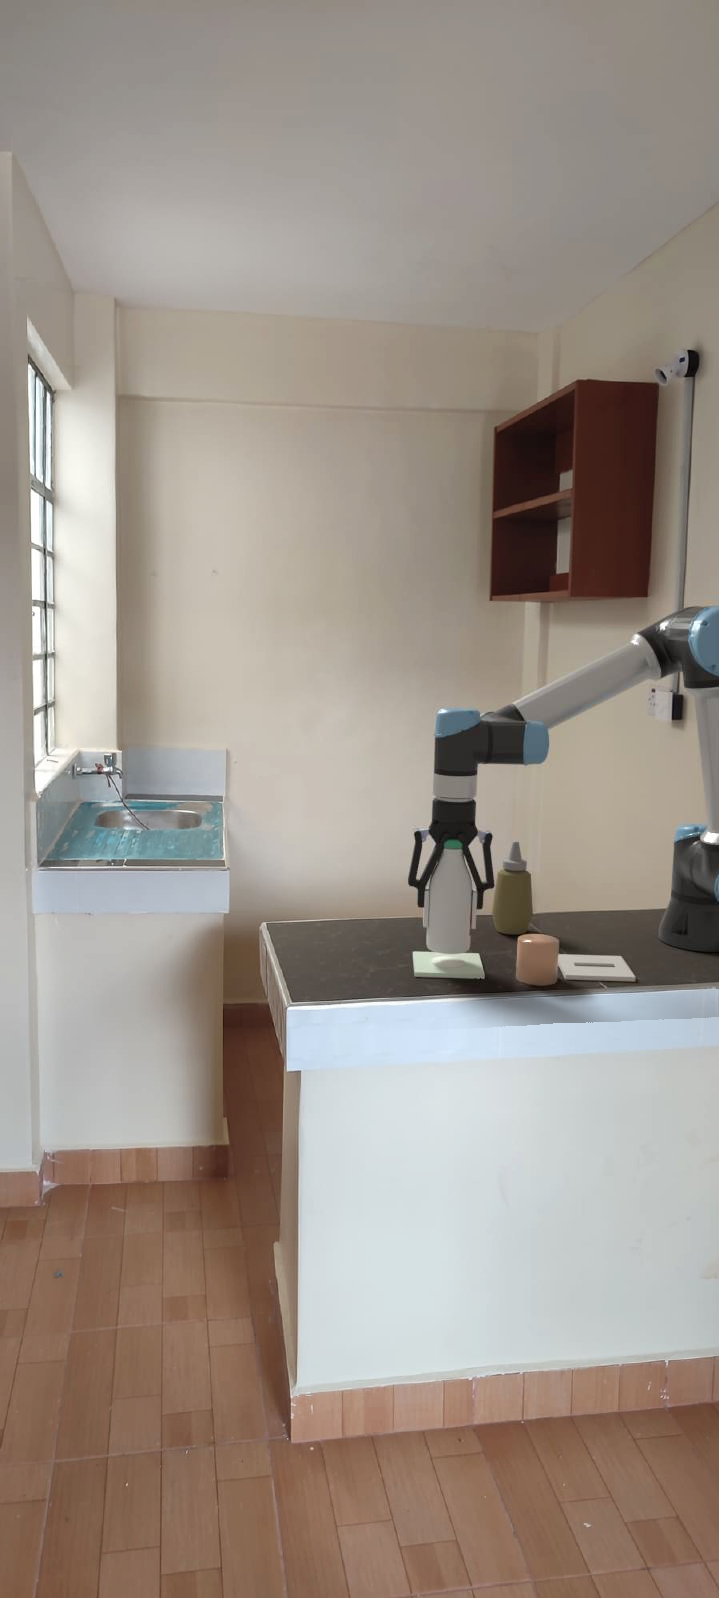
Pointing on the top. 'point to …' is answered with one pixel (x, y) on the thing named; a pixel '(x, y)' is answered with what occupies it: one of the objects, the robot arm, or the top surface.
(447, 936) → the milk bottle
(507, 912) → the squeeze bottle
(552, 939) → the rounded peach cylinder
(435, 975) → the tile
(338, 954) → the top surface
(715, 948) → the robot arm
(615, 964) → the tile
